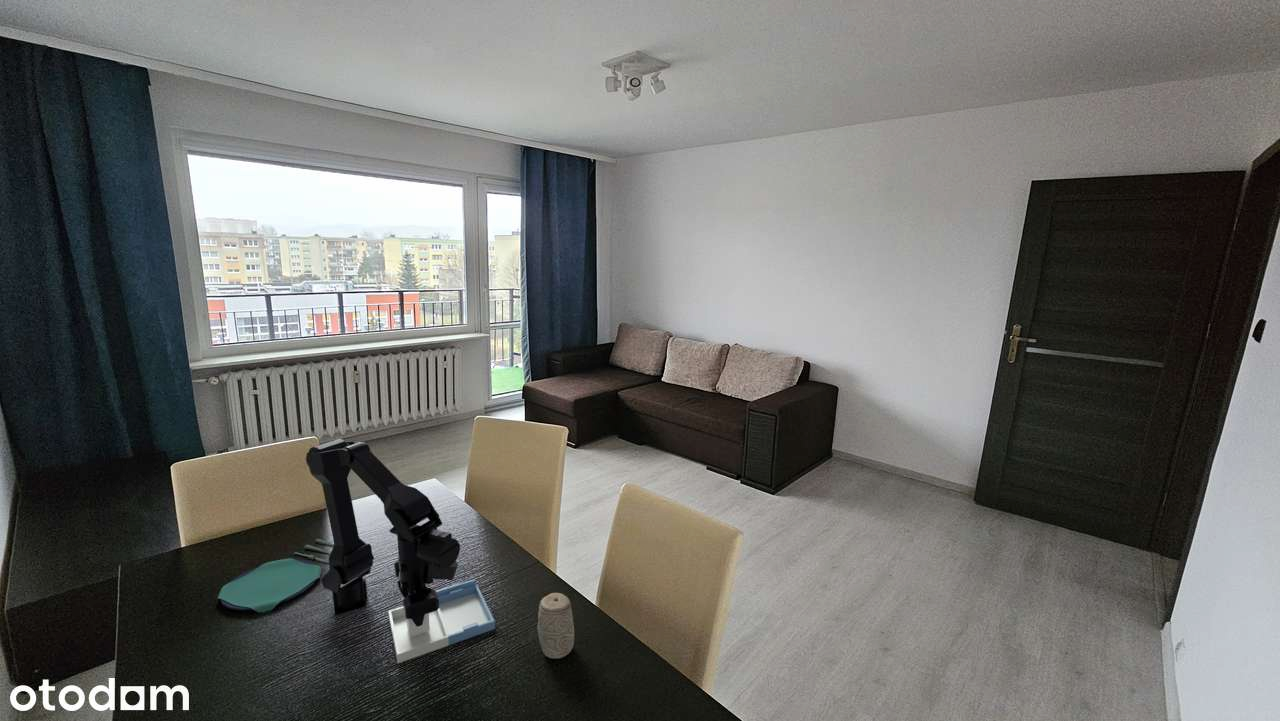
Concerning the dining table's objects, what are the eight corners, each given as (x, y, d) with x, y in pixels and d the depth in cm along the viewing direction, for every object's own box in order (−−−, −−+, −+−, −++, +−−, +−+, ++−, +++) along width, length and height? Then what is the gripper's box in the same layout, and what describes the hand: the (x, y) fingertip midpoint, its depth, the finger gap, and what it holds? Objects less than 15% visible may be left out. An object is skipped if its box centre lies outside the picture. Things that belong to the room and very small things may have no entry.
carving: (541, 639, 110) (541, 589, 108) (576, 641, 110) (576, 591, 107) (534, 662, 104) (534, 609, 101) (571, 663, 103) (571, 611, 101)
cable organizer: (397, 665, 102) (396, 649, 101) (388, 618, 115) (387, 604, 114) (494, 630, 112) (494, 616, 111) (476, 591, 125) (475, 578, 124)
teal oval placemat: (198, 604, 118) (197, 595, 118) (314, 541, 146) (313, 533, 146) (262, 625, 113) (261, 615, 112) (370, 555, 141) (369, 547, 140)
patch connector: (409, 637, 108) (407, 601, 106) (406, 625, 111) (404, 590, 110) (429, 630, 110) (427, 594, 108) (426, 619, 113) (424, 584, 112)
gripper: (463, 565, 104) (466, 632, 107) (444, 524, 119) (447, 584, 122) (403, 582, 98) (408, 653, 101) (392, 537, 113) (396, 599, 116)
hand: (417, 619), depth 110 cm, fingers closed on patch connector, 4 cm apart
